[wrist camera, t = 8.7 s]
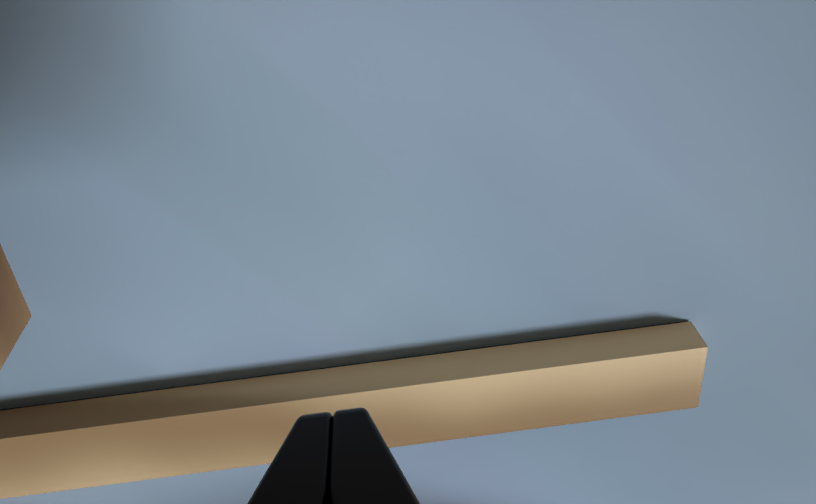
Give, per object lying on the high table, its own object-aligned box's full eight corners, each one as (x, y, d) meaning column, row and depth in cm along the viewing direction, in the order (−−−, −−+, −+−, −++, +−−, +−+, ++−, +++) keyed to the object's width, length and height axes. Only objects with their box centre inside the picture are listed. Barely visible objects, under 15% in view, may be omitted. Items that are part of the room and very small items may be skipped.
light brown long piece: (682, 380, 19) (733, 468, 17) (-276, 505, 19) (-370, 615, 16) (775, -260, 12) (896, -273, 9) (-820, -77, 11) (-1150, -39, 9)
